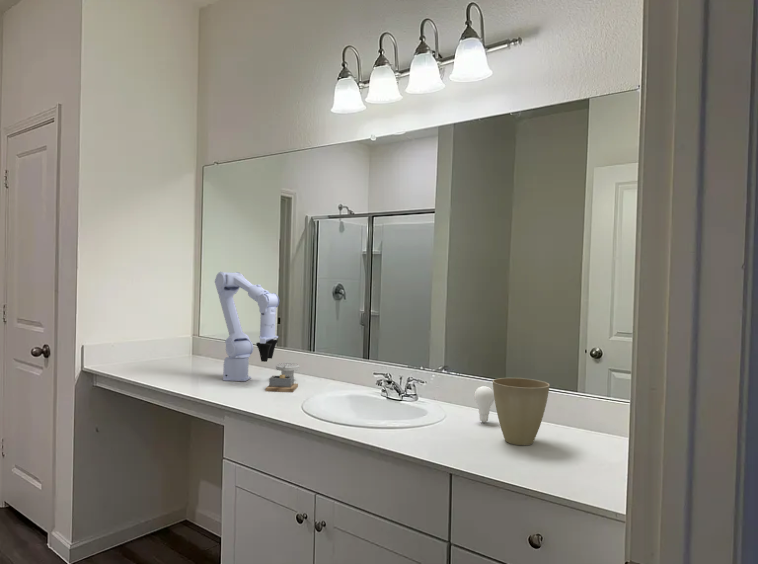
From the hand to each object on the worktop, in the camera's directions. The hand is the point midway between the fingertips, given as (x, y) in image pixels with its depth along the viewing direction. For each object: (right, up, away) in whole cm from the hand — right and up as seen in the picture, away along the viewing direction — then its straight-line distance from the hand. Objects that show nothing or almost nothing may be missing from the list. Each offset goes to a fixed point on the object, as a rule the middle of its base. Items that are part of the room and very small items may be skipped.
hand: (266, 359), depth 215 cm
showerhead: (+6, -10, +9) cm, 15 cm away
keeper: (+7, -10, -6) cm, 14 cm away
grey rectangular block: (+7, -9, -6) cm, 13 cm away
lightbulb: (+75, -13, -47) cm, 89 cm away
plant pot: (+81, -13, -65) cm, 105 cm away
